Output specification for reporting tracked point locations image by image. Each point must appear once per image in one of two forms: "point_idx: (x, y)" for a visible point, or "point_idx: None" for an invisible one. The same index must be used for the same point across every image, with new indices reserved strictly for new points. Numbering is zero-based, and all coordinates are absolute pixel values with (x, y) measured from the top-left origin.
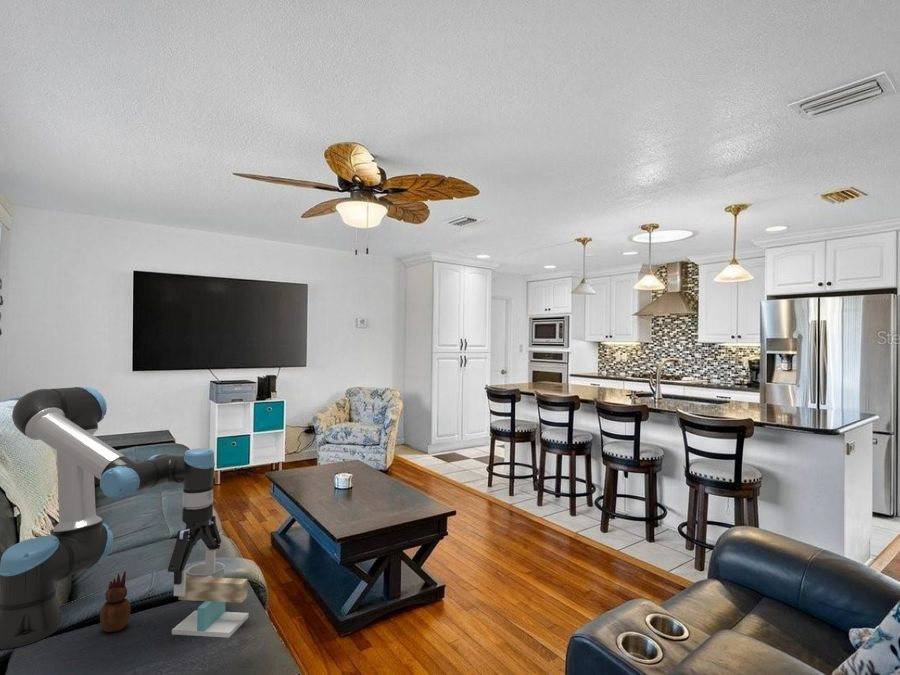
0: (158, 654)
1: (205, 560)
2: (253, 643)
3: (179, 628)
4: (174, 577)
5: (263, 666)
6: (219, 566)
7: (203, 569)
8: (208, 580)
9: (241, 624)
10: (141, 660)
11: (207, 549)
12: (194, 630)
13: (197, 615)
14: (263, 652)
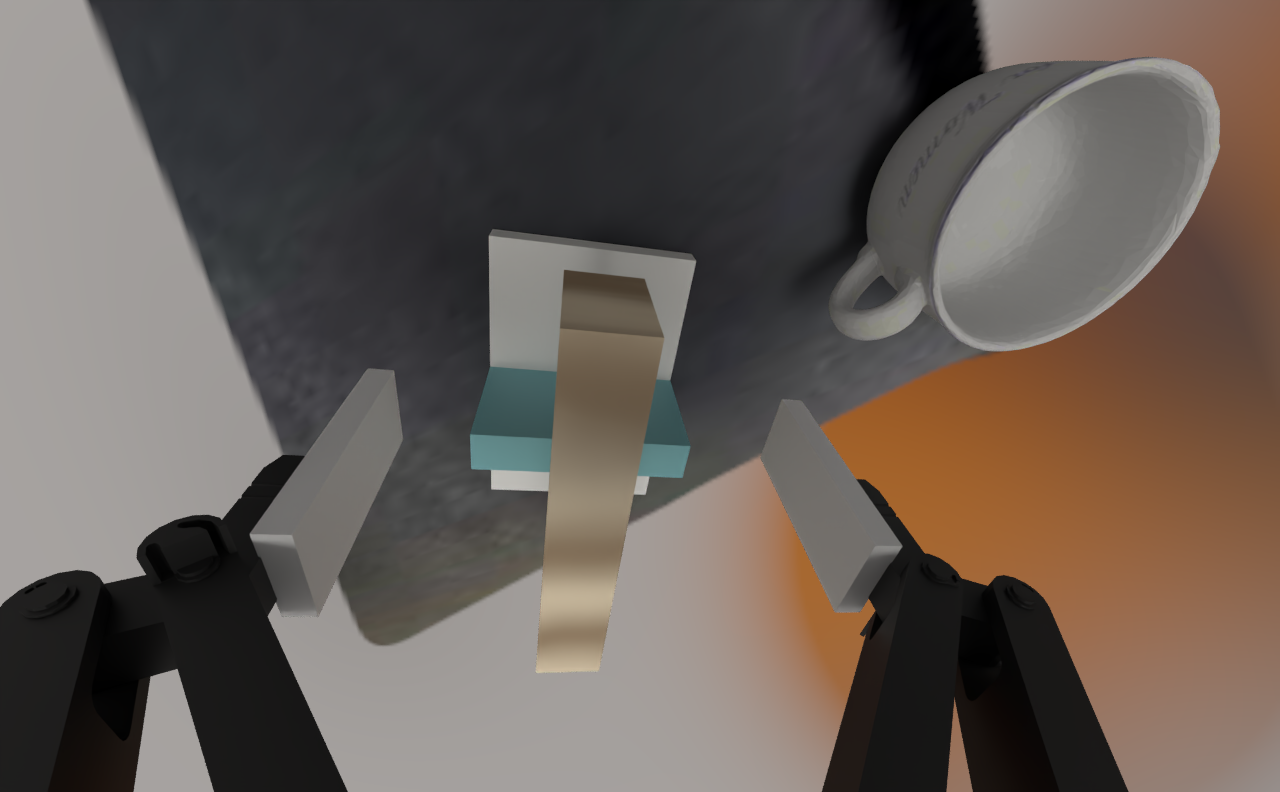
0: (311, 259)
1: (824, 467)
2: (468, 552)
3: (505, 271)
4: (232, 515)
5: (355, 610)
6: (1103, 276)
7: (1150, 148)
8: (576, 523)
9: None
10: (236, 198)
11: (892, 552)
12: (494, 353)
13: (477, 409)
14: (424, 589)
